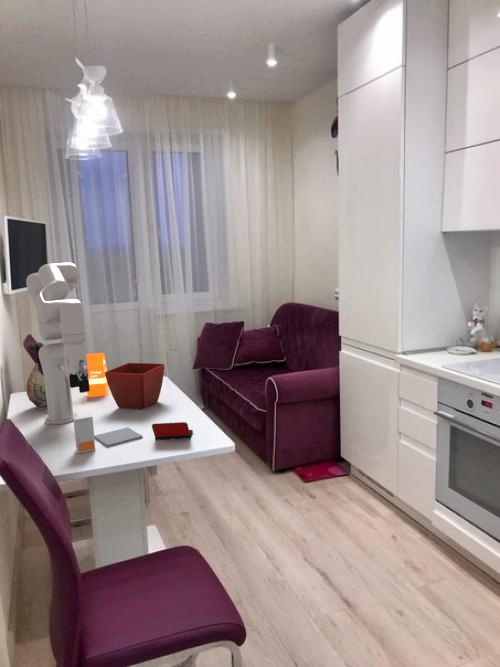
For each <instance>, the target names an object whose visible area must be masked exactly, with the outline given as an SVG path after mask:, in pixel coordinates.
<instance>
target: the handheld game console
mask: <svg viewBox="0 0 500 667" xmlns="http://www.w3.org/2000/svg"><path fill="white" fill-rule="evenodd" d="M189 428H190V427H189V424H188V423H187V422H185V421H183V422H182V421H181V422H178V421H177V422H166V423H165V422H163V423H153V424H151V429H152V432H153V435H154V440H155V441H169V440H189V439H191V438H192V435H193V434H194V433H193V432H194V431H193V429H189Z"/></svg>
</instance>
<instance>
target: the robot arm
mask: <svg viewBox="0 0 500 667" xmlns="http://www.w3.org/2000/svg"><path fill="white" fill-rule="evenodd" d="M80 277H81V276H80V270H79V268H78V267H77V265H76V264H74V263H73V262H58V263H57V262H56V263H53V262H52V263H47V264H43V265H42V266H40V267H39V269H38V271H37V272H33V273H31V274H28V276H27V277H26V281H25V282H26V283H25V284H26V289H27V292H28V294H29V296H30V298H31V300H32V302H33V304H34V306H35V311H36V317H37V324H38V331H39V334H40V337H41V339H43V340H45V341H56V340H62V342H55V343H53V342H52V343H48V344H43V345H44V346H43V347H41V348H40V350H39V359H40V362H41V366H42V370H43V375H44V382H45V391H46V399H47V408H48V409H47V417H45V419H44V423H45V424H47V425H62V424H67V423H71V422H74V421H73V417H74V416H78V414H77V413H76V412H74V409H73V398H72V391H71V390H72V389H74V388H78V390H79V393H80V394H83V393H87V392H88V391H90V388H89V377H88V361H87V354H88V353H87V351H86V350H87V349H86V344H85V343H87V341H88V340H87V333H86V323H85V322H86V321H85V306H84V303H83V302H81V301H80V299H76V298H70V299H65V298H67V296H69V293H70V292H73V291H74V290H75V289H76V288H77V286H78V285H79V283H80V279H81V278H80ZM62 367H64V368H65V370H63V368H62Z"/></svg>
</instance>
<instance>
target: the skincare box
mask: <svg viewBox="0 0 500 667" xmlns="http://www.w3.org/2000/svg"><path fill="white" fill-rule="evenodd" d="M93 418H94V417H93V415H92V413H87V414H81V415H77V416H74V417H73V421H72V422H73V428H74V439H75V448H76V453H77V454H83V453H89V452H95V451H96V441H95V440H96V439H95V438H94V436H95V430H94V429H95V428H94V420H93Z"/></svg>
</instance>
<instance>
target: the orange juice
mask: <svg viewBox="0 0 500 667" xmlns="http://www.w3.org/2000/svg"><path fill="white" fill-rule="evenodd" d="M86 354H87V361H88V377H89V388H90V391H88V392H86V394H87V398H91V397H92V398H93V397H103V396H105V397H106V396H107V395H108V393H109V391H110V389H109V386H108V383H107V380H106V377H105V372H106V371H108V368H107V362H106V357H105V353H104V352H97V353H96V352H95V353H86Z"/></svg>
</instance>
